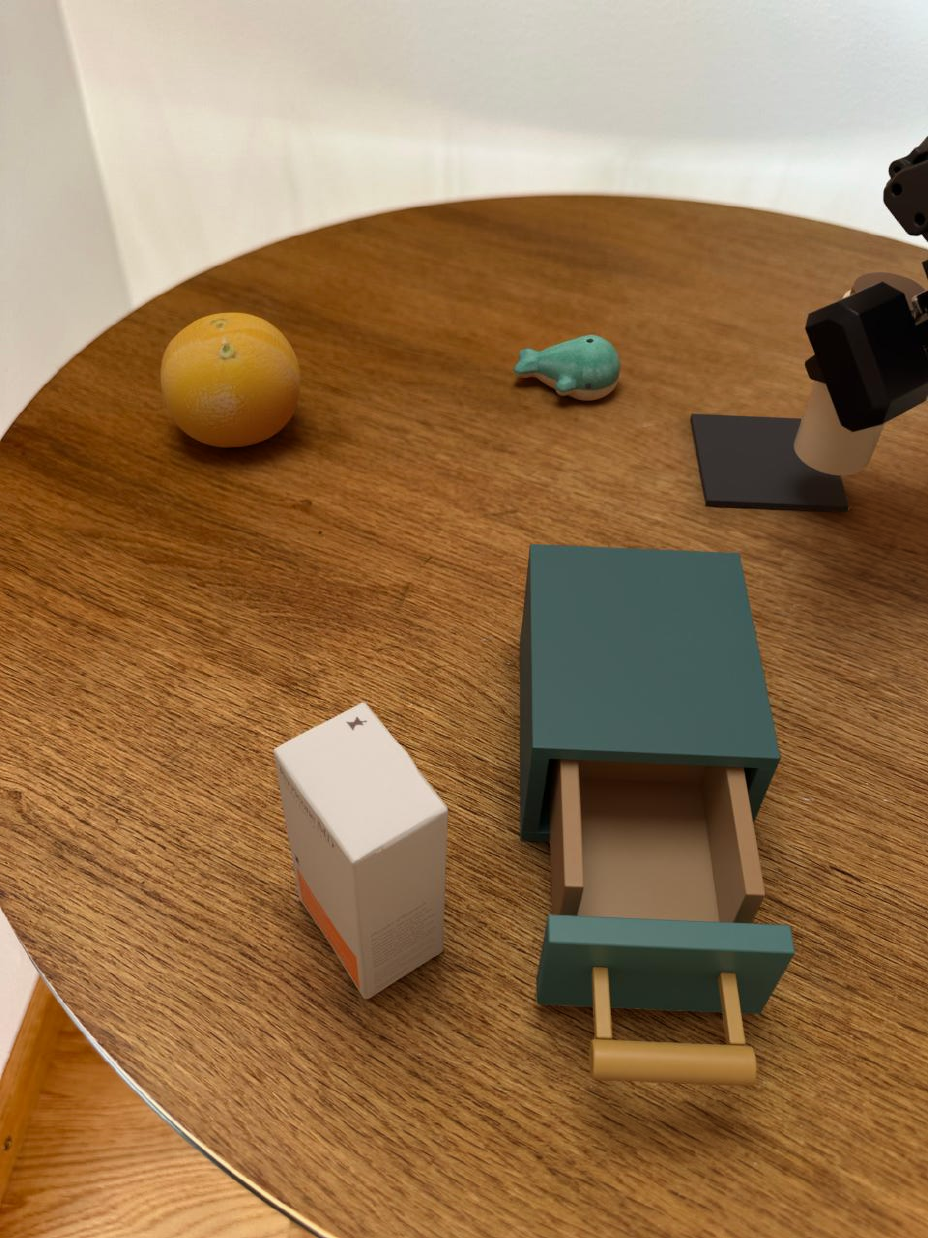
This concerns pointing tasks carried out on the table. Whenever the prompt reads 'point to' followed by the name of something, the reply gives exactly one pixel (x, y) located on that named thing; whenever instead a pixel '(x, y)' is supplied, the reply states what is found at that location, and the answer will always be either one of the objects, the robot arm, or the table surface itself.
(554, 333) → the table surface
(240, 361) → the fruit
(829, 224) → the table surface
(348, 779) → the cosmetic box
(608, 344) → the whale figurine
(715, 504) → the mat
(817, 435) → the spice jar
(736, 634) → the cabinet
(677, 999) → the drawer
